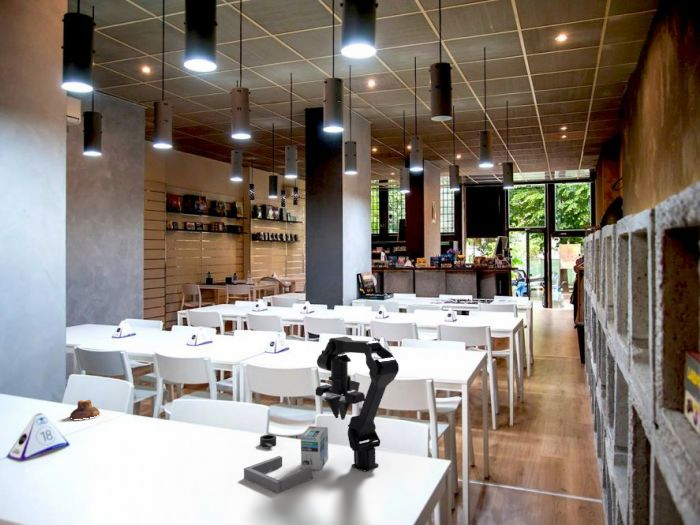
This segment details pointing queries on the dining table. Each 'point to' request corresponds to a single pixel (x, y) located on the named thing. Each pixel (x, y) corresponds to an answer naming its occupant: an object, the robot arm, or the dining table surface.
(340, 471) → the dining table surface
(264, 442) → the duct tape
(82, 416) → the brown fuzzy lump
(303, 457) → the light bulb box
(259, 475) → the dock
